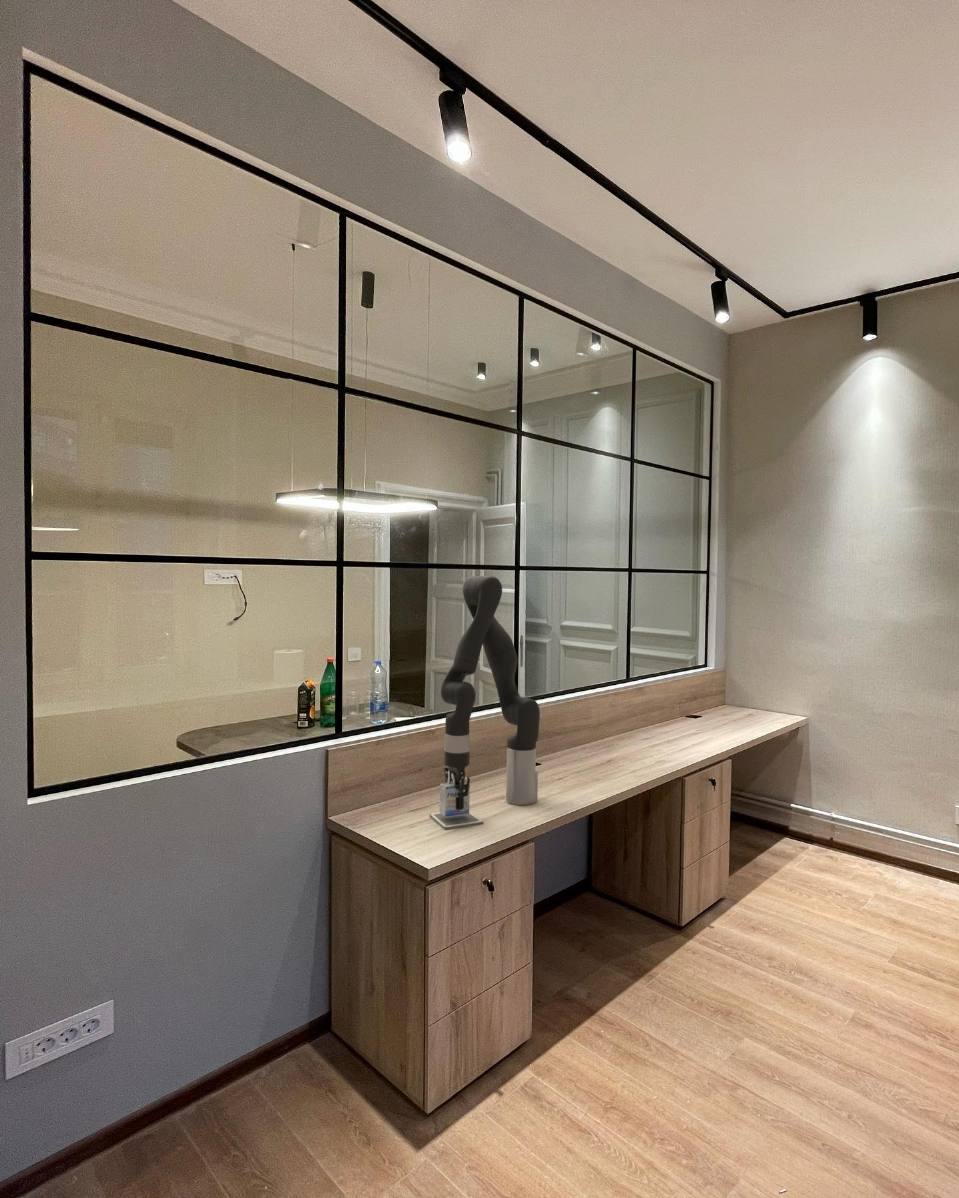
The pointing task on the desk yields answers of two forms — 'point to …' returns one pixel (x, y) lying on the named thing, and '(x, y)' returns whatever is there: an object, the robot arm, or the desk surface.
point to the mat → (456, 820)
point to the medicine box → (451, 800)
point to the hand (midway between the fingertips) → (456, 806)
